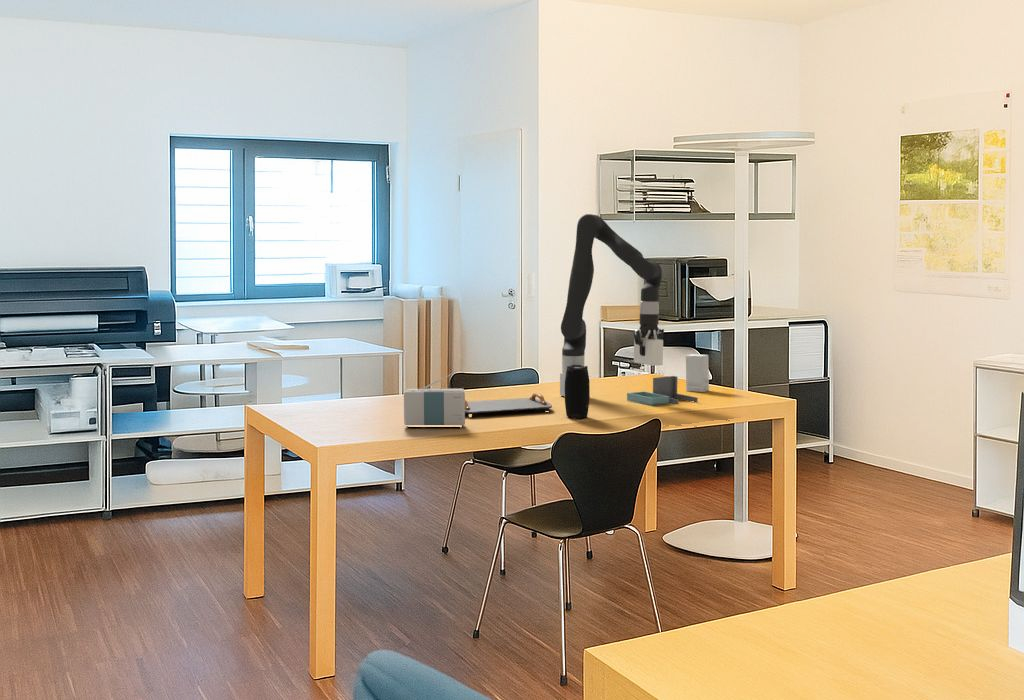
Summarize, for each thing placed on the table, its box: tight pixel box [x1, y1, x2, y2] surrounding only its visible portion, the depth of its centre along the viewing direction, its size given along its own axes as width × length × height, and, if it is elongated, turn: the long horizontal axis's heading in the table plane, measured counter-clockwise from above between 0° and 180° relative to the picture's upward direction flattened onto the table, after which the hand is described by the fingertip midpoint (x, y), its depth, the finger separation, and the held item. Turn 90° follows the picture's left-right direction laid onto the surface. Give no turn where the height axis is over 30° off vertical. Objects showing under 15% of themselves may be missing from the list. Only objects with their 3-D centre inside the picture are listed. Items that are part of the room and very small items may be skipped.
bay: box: [652, 375, 698, 405], centre depth 415 cm, size 11×15×9 cm
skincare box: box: [685, 353, 710, 393], centre depth 442 cm, size 8×7×16 cm
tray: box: [626, 391, 670, 407], centre depth 412 cm, size 9×16×3 cm, turn 31°
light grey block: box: [633, 336, 664, 367], centre depth 410 cm, size 5×12×11 cm, turn 31°
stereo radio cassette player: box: [403, 369, 466, 426], centre depth 358 cm, size 21×8×20 cm, turn 90°
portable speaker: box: [564, 365, 591, 419], centre depth 377 cm, size 8×9×19 cm
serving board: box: [465, 392, 553, 415], centre depth 392 cm, size 39×23×6 cm, turn 112°
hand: (648, 355), depth 411 cm, fingers closed on light grey block, 5 cm apart
